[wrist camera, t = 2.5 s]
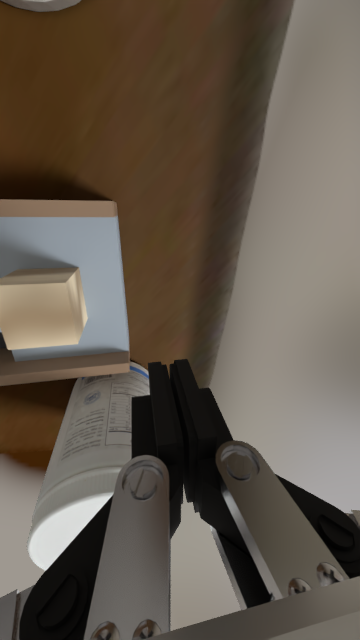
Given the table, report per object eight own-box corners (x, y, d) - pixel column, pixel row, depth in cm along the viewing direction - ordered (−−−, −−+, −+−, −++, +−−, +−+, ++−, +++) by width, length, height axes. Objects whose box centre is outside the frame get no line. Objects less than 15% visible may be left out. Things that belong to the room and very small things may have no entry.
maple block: (17, 269, 18) (-14, 286, 14) (79, 267, 19) (65, 282, 15) (32, 322, 20) (7, 350, 16) (87, 318, 21) (77, 344, 17)
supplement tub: (132, 427, 31) (134, 583, 18) (59, 406, 28) (-3, 579, 15) (171, 372, 29) (205, 508, 16) (97, 341, 25) (62, 482, 12)
